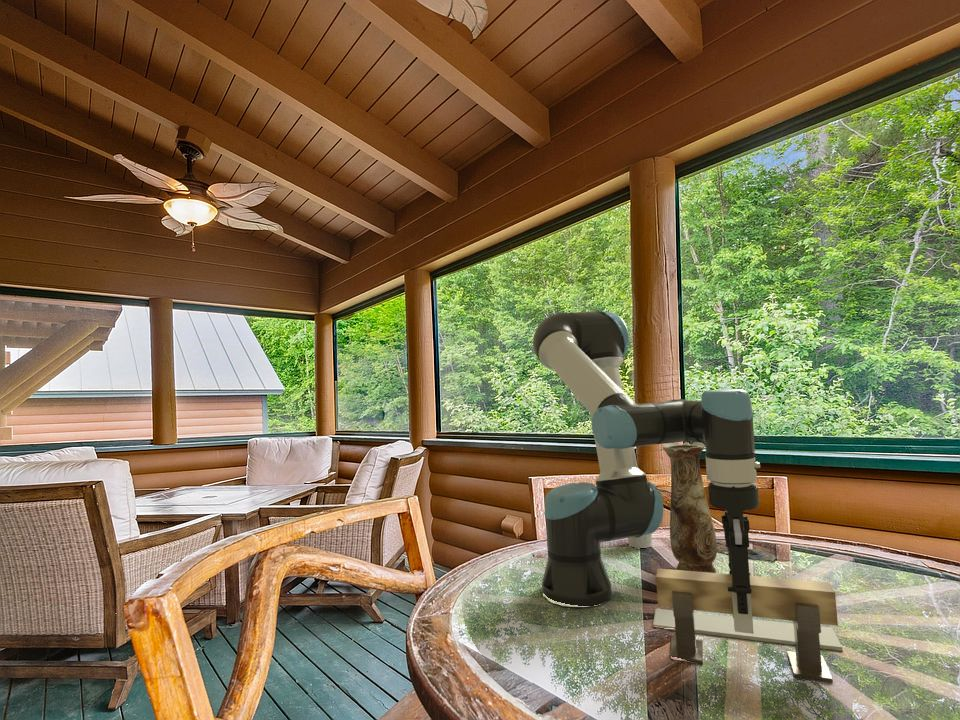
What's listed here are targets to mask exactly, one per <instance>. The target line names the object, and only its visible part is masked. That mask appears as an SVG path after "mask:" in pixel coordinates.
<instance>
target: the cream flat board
mask: <svg viewBox="0 0 960 720" xmlns="http://www.w3.org/2000/svg"><path fill="white" fill-rule="evenodd" d="M653 617H654V618H653V622H652V623H653V624H652V627H653V626H658V627H663V628H674V629H675V617H674V614H673V609H664V608H655V611H654V616H653ZM694 623H695V634H703V635H707V636H708V635H710V636H716V637H718V636H719V637H727V638H734V639H742V640H750V641H751V640H752V641H759V642H766V643H775V644H781V645H783V644H784V645H791V646H795V637H794V624H793V623H791V622H783V621H782V622H781V621H773V620H765V619H754V618H753V632H754V634H751V633H742V632H735V629H734V619H733V616H729V615H727V616H726V615H719V614H718V615H717V614H709V613H700V612H694ZM819 640H820V649H825V650H830V651H831V650H832V651H839V652H843V646H842V644H841V642H840V640H839V638H838V636H837V634H836V633H835V631H834V628H833V627H828V626H821V633H819Z"/></svg>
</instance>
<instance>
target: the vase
mask: <svg viewBox="0 0 960 720" xmlns="http://www.w3.org/2000/svg"><path fill="white" fill-rule="evenodd" d="M661 447H662V448H661V449H663V451H664V452H665V453H666V455H667V457H668V458H669V461H670V471H671V472H670V475H671V476H670V477H671V478H670V479H671V480H670V482H671V483H670V485H671V486H670V487H671V488H670V491H671V492H670V508H669V509H670V510H669V511H670V513H669V514H670V515H669V516H670V517H669V518H670V519H669V538H670V539H669V540H670V549H671V552H672V555H673V556H674V558H675V560H676V561H678V564H677V566H676V569H675V570H684V571H696V572H708V573H717V570H716V568H715V566H714V564H713V563H714V562H715V560H716V558H717V555H718V551H717V549H718V545H717V543H718V542H717V536H716V531H715V526H714V523H713V518H712V515H711V510H710V507H709V501H708V499H707V493H706V490H705V487H704V480H703V477H702V472H701V471H702V470H701V467H700V457H701V455H702V453H703V451H704V449H705V443H700V442H693V443H692V444H690V443H688V441H685V442H682V443H681V444H680V443H679V442H675V443H665V445H663V446H661Z"/></svg>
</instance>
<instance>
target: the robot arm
mask: <svg viewBox="0 0 960 720" xmlns="http://www.w3.org/2000/svg"><path fill="white" fill-rule="evenodd" d="M532 339H533V340H532V347H533V351H534V354H535V356H536V358H537V359H538V361H540V363H541V364H542V365H543V366H544V367H545V368H547V369H549V370H553V371H554V372H555V374H556V375H557V376H558V378H560V379H561V381H562V382H563V383H564V384H565V385H566V386H567V388H568V389H569V390H570V391H571V392H572V394H573V395H574V396H575V397H576V398H577V399H578V400H579V402H580V403H581V404H582V405H583V406H584V407H585V409H586V410H587V411H588V412H589V415H590V420H591V421H590V422H591V431H592V434H593V437H594V442H595V448H596V449H595V450H596V453H597V454H596V456H597V460H598V466H599V471H600V472H599V474H598V476H597V477H596V479H595V480H594V481H595V484H594V483H590V482H585V481H584V482H582V481H581V482H572V483H566V484H561V485H559V486H556V487H554V488H552V489H551V490H550V491H548V492H547V494H546V495H545V497H544V513H543V515H544V518H545V519H544V520H545V529H546V534H545V535H546V544H547V545H546V547H547V561H546V565H545V569H544V572H543V577H542V581H541V592H542V591H543V593H544V594H545V595H546V596H547V597H548V598H550V599H552V600H554V601H557V602H561V603H565V604H570V605H578V606H594V605H598V606H600V605H599V604H601V605H603V604H605V603H607V602H608V601H609V600H610V599H611V598H612V593H613V592H612V583H611V580H610V578H609V575H608V572H607V569H606V566H605V564H604V562H603V560H602V551H601V543H605V542H607V543H608V542H612V541H617V540H618V541H619V540H624V539H628V538H632V537H637V538H638V537H641V536H643V535H648V534H651V533H652V534H653V533H655V532H656V531H657V530H658V529H659V528H660V525H661V523H662V521H663V518H664V516H663V515H664V500H663V497H662V494H661V491H660V490H658V486H657V485H656V484H654V483H653V482H651V481H649V480H648V477H647V473H645V472H644V471H643V470H642V469H640V468H639V467H638V461H637V457H636V455H637V454H636V452H635V448H637V447H645V446H653V445H661V444H662V445H663V444H665V445H666V444H669V443H685V442H693V443H694V442H699V443H703V444H704V445H705V447H704V449H705V469H706V480H708V481H710V482H709V483H708V484H707V493H708V504H709V505H710V506H711V507H713V508H716V509H719V510H725V511H724V514H721V524H722V529H723V531H724V534H723V535H724V540H725V544H726V545H727V547H728V549H727V551H728V552H727V553H728V554H727V555H728V565H727V566H728V568H729V572H728V574H732V587H728V592H732V602H733V614H732V617H733V619H734V629H735V632H742V633H751V634H754V632H753V619H754V617H753V616H752V605H751V592H752V589H751V587H750V576H752V573H751V572H750V563H749V562H750V560H749V559H748V549H750V538H749V531H750V529H751V528H750V521H749V519H748V518H749V517H748V515H744V512H745V511H751V510H755V509H757V508H758V507H759V506H760V497H759V487H758V485H757V484H756V483H755V482H756V481H757V480H758V478H757V477H758V475H757V470H756V469H760V468H761V463H760V462H758V461H756V448H755V447H756V446H755V431H754V412H753V407H752V401H751V395H750V393H749V392H748V391H747V390H745V389H743V388H742V389H741V388H740V389H739V388H735V389H734V388H733V389H724V388H723V389H710V390H705V391H703V392H702V393H701V400H691V399H688V400H687V399H686V398H685V399H683V398H679V399H669V400H666V401H659V402H646V403H636V402H635V401H634V400H633V399H632V398H631V397H629V395H627V394H626V393H625V391H624V390H623V389H624V388H623V384H622V379H621V374H620V373H621V372H620V367H621V365H622V363H623V362H624V356H625V355H626V354H627V353H628V350H629V348H630V345H629V343H630V332H629V330H628V327H627V324H626V322H625V321H624V319H623V318H622V317H621V316H620V315H618V314H617V313H615V312H611V311H602V310H596V311H578V312H577V311H576V312H567V311H566V312H557V313H553V314H552V315H549V316H547V317H546V318H544V319H543V320H542V321H541V322H540V323H539V324H538V325H537V328H536V329H535V332H534V334H533V338H532ZM594 607H595V606H594Z"/></svg>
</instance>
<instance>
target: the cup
mask: <svg viewBox="0 0 960 720" xmlns="http://www.w3.org/2000/svg"><path fill="white" fill-rule="evenodd" d="M628 543H629V545H631V546H632V547H635V548H634V549H636V548H647V547H650V546H652V547H653V533H651V534H648V535H643V536H641V537H638V538H637V537H632V538H627V544H628ZM629 545H628V546H629ZM632 547H631V548H632ZM647 549H648V548H647Z"/></svg>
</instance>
